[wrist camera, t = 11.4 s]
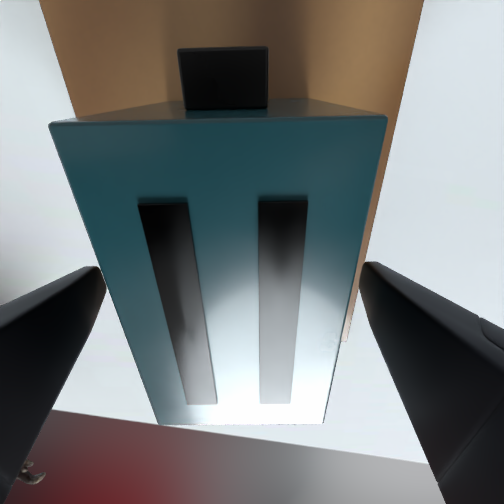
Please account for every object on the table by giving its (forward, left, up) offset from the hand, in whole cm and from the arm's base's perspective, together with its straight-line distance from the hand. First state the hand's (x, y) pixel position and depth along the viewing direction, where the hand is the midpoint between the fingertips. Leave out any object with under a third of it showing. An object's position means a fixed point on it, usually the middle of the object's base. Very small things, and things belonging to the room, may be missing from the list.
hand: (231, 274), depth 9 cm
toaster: (0, 0, -6) cm, 6 cm away
